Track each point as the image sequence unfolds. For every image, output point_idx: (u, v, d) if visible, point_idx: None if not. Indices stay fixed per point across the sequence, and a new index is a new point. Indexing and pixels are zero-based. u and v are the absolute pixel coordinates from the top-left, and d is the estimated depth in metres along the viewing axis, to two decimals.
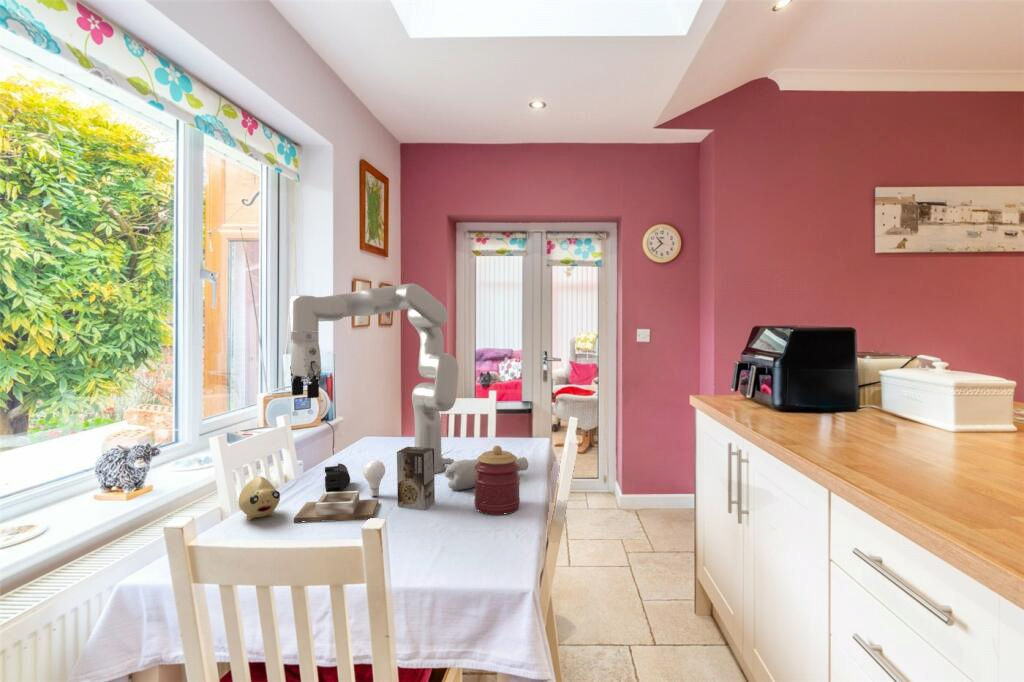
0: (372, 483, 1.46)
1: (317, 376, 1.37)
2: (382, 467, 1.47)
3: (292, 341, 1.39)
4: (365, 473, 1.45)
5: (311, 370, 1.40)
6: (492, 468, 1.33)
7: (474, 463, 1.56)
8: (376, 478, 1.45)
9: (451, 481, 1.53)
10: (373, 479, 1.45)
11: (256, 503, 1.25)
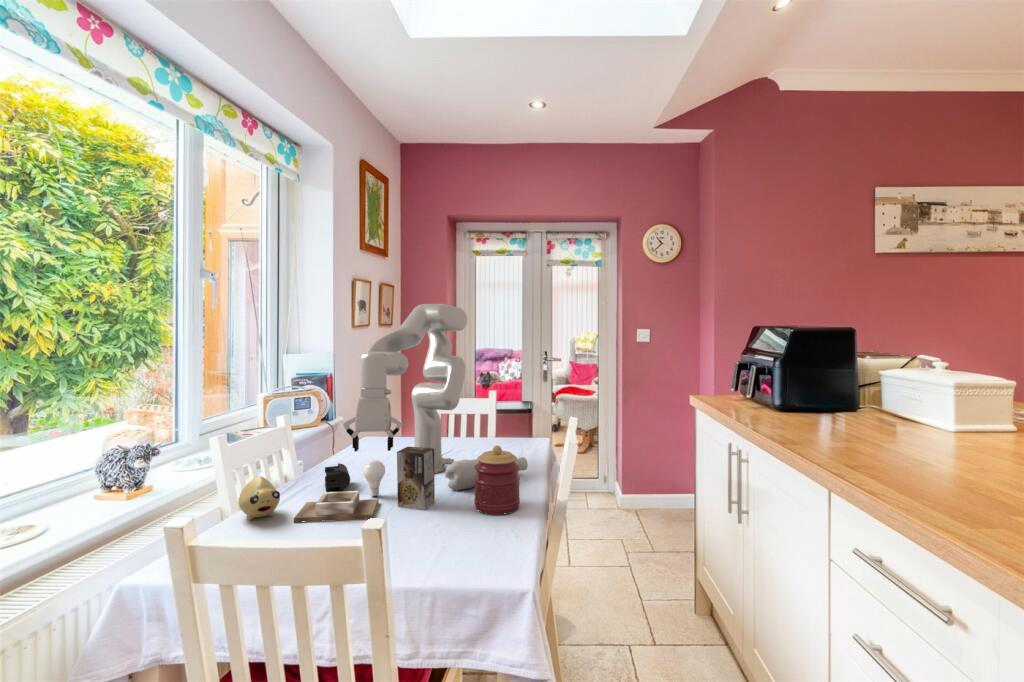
0: (372, 483, 1.46)
1: None
2: (382, 467, 1.47)
3: (372, 398, 1.43)
4: (365, 473, 1.45)
5: None
6: (492, 468, 1.33)
7: (474, 463, 1.56)
8: (376, 478, 1.45)
9: (451, 481, 1.53)
10: (373, 479, 1.45)
11: (256, 503, 1.25)
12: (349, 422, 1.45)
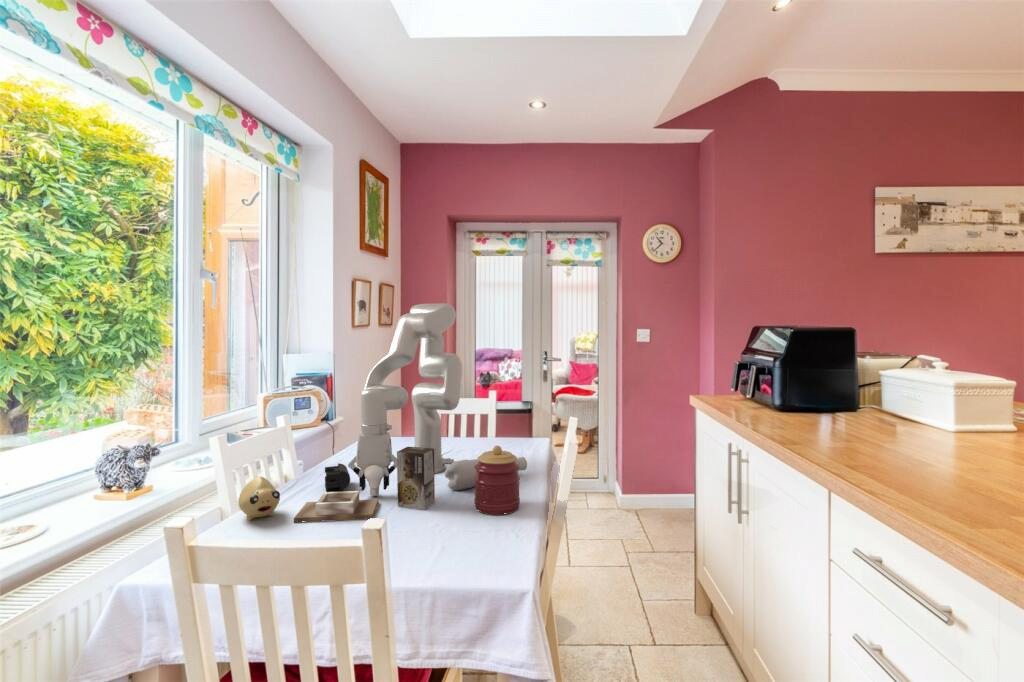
0: (372, 483, 1.46)
1: None
2: (382, 467, 1.47)
3: (373, 435, 1.44)
4: (365, 473, 1.45)
5: None
6: (492, 468, 1.33)
7: (474, 463, 1.56)
8: (376, 478, 1.45)
9: (451, 481, 1.53)
10: (373, 479, 1.45)
11: (256, 503, 1.25)
12: (353, 462, 1.46)
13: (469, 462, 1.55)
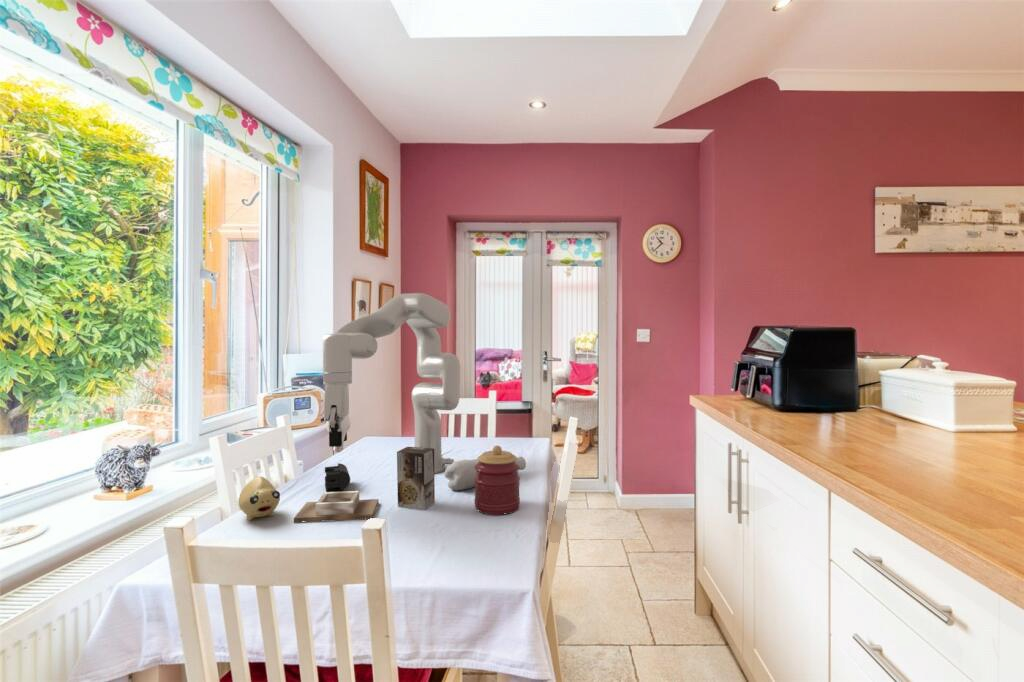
0: (344, 436, 1.34)
1: None
2: None
3: (351, 381, 1.35)
4: (344, 425, 1.32)
5: None
6: (492, 468, 1.33)
7: (474, 463, 1.56)
8: None
9: (451, 481, 1.53)
10: (347, 430, 1.35)
11: (256, 503, 1.25)
12: (335, 416, 1.28)
13: (469, 462, 1.55)
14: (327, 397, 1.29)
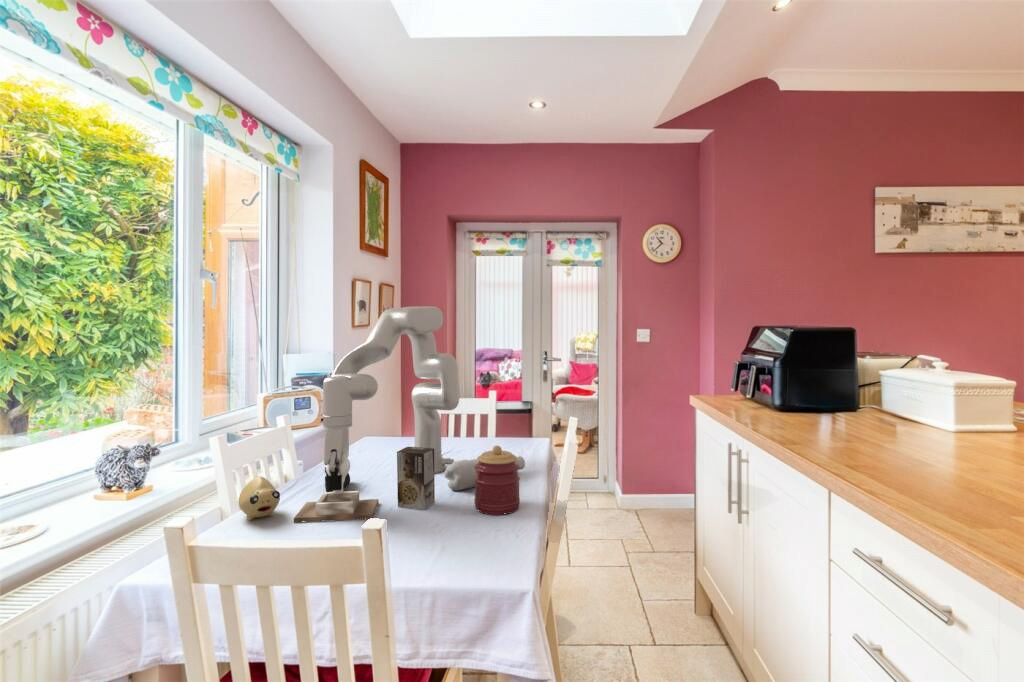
0: (344, 478, 1.34)
1: None
2: None
3: (351, 424, 1.35)
4: (344, 468, 1.33)
5: None
6: (492, 468, 1.33)
7: (474, 463, 1.56)
8: None
9: (451, 481, 1.53)
10: (347, 473, 1.35)
11: (256, 503, 1.25)
12: (335, 461, 1.28)
13: (469, 462, 1.55)
14: (328, 442, 1.29)
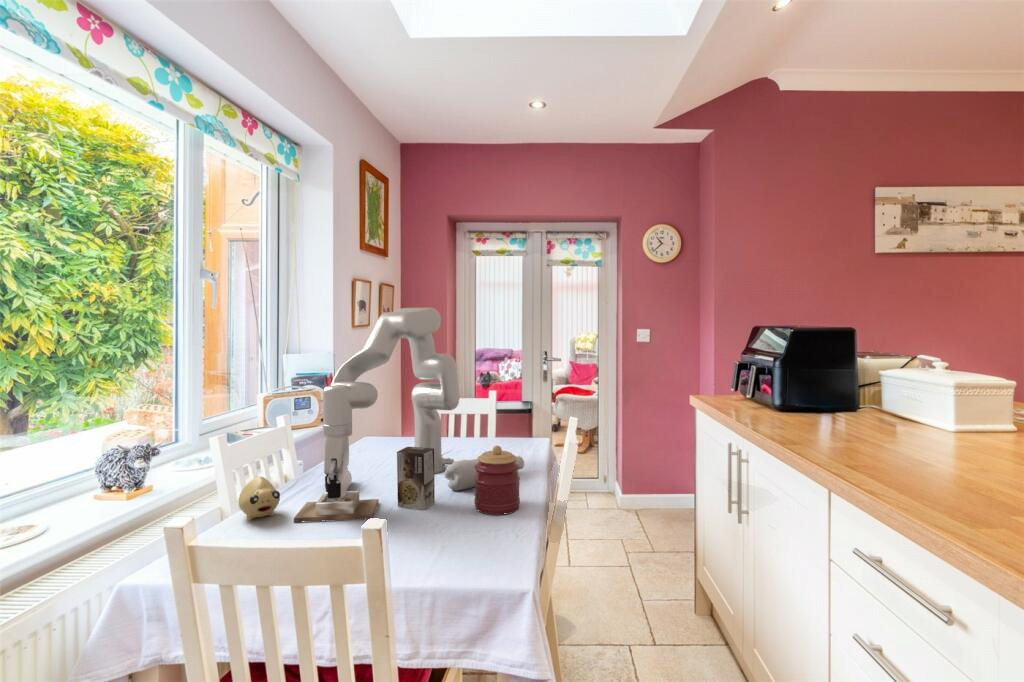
0: (345, 491, 1.35)
1: None
2: None
3: (351, 432, 1.35)
4: (345, 481, 1.33)
5: None
6: (492, 468, 1.33)
7: (474, 463, 1.56)
8: None
9: (451, 481, 1.53)
10: None
11: (256, 503, 1.25)
12: (334, 467, 1.28)
13: (469, 462, 1.55)
14: (328, 451, 1.29)
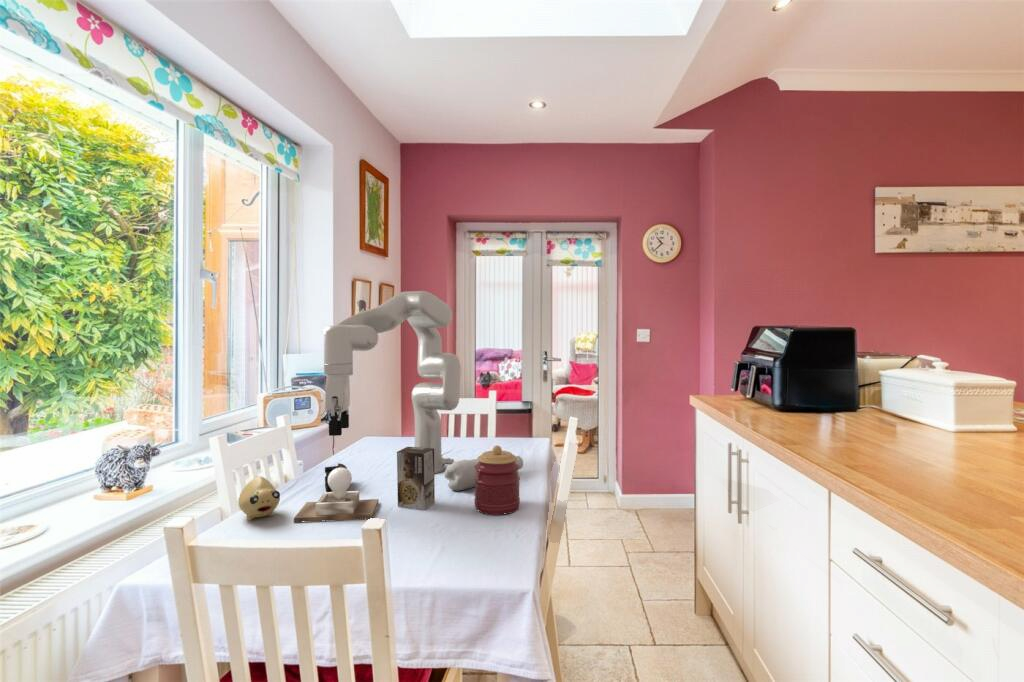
0: None
1: None
2: None
3: (352, 373, 1.35)
4: (345, 481, 1.33)
5: None
6: (492, 468, 1.33)
7: (474, 463, 1.56)
8: None
9: (451, 482, 1.53)
10: (349, 485, 1.36)
11: (256, 503, 1.25)
12: (335, 404, 1.28)
13: (469, 462, 1.55)
14: (329, 389, 1.30)
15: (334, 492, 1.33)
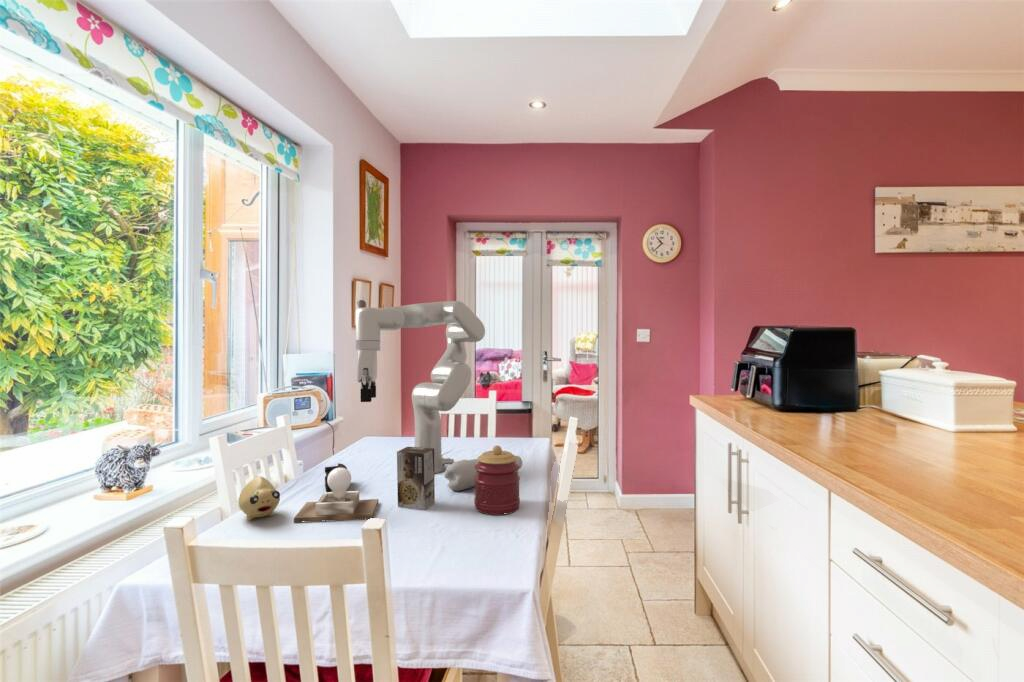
0: (345, 491, 1.35)
1: None
2: None
3: None
4: (345, 481, 1.33)
5: None
6: (492, 468, 1.33)
7: (474, 463, 1.56)
8: None
9: (451, 482, 1.53)
10: (348, 485, 1.36)
11: (256, 503, 1.25)
12: (366, 374, 1.49)
13: (469, 462, 1.55)
14: (360, 361, 1.50)
15: (334, 492, 1.33)
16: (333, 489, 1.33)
